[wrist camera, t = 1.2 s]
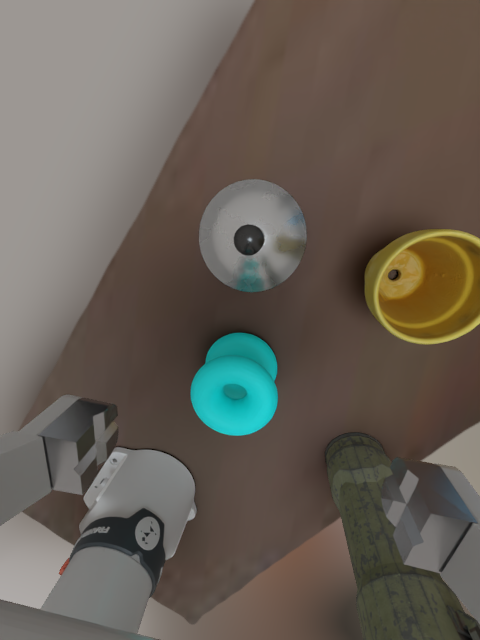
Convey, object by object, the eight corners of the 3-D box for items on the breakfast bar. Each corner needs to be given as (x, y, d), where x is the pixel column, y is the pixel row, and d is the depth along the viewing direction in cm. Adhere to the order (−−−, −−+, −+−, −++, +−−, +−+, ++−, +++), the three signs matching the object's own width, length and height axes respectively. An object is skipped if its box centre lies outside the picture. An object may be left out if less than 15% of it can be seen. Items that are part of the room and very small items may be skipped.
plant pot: (349, 319, 36) (375, 351, 26) (345, 237, 33) (372, 240, 23) (437, 309, 34) (497, 339, 25) (441, 221, 31) (511, 218, 22)
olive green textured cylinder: (404, 442, 40) (989, 1407, 7) (355, 492, 44) (592, 1267, 11) (352, 414, 40) (723, 1300, 7) (308, 467, 44) (408, 1194, 11)
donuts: (294, 388, 29) (252, 454, 32) (290, 349, 38) (257, 403, 41) (208, 346, 28) (174, 417, 32) (224, 317, 38) (197, 374, 41)
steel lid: (252, 309, 37) (248, 321, 32) (181, 239, 35) (165, 241, 31) (328, 238, 33) (337, 239, 28) (252, 154, 32) (248, 141, 27)
